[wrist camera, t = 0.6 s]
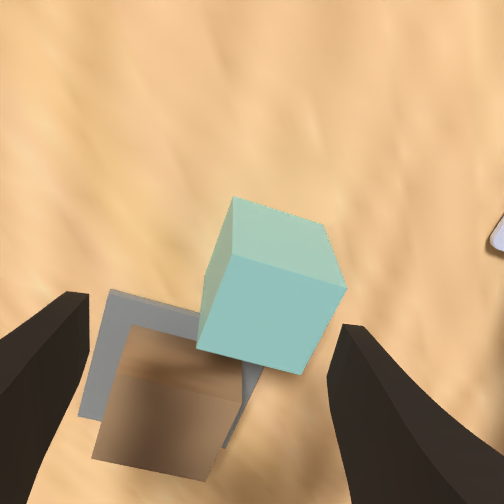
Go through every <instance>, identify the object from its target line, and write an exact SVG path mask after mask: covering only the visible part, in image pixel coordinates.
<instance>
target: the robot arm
mask: <svg viewBox="0 0 504 504" xmlns="http://www.w3.org/2000/svg"><path fill="white" fill-rule="evenodd" d="M490 244H491V245H492V246H493V247H494V248H495V249H497V250H500V251H503V252H504V216H503V218H502V219H501V221H500V222H499V224H498V225H497V227H496V228H495V230H494V231H493V233H492V234H491V236H490ZM89 352H90V343H89V294H85V293H77V292H68V291H66V292H65V293H63V294H62V295H61V296H59V297H58V298H57V299H55V300H54V301H53V302H51V303H50V304H49V305H47V306H46V307H45V308H43V309H42V310H41V311H39V312H38V313H37V314H35V315H34V316H33V317H31V318H30V319H29V320H27V321H26V322H24V323H23V324H22V325H20V326H19V327H17V328H16V329H15V330H13V331H12V332H10V333H9V334H8V335H6V336H5V337H3V338H1V339H0V504H26V503H27V500H28V497H29V495H30V492H31V489H32V486H33V484H34V481H35V478H36V475H37V473H38V470H39V468H40V466H41V463H42V461H43V459H44V456H45V454H46V452H47V450H48V448H49V446H50V444H51V442H52V439H53V437H54V435H55V433H56V431H57V429H58V427H59V425H60V423H61V421H62V419H63V417H64V415H65V412H66V410H67V408H68V406H69V404H70V402H71V400H72V398H73V396H74V394H75V391H76V389H77V387H78V385H79V382H80V379H81V377H82V374H83V371H84V368H85V364H86V361H87V358H88V355H89ZM327 388H328V397H329V406H330V411H331V416H332V420H333V424H334V428H335V433H336V437H337V441H338V445H339V449H340V453H341V457H342V461H343V465H344V469H345V473H346V477H347V481H348V486H349V491H350V496H351V502H352V504H504V456H503V455H502V454H500V453H499V452H497V451H496V450H495V449H493V448H492V447H490V446H489V445H488V444H486V443H485V442H484V441H482V440H481V439H479V438H478V437H477V436H475V435H474V434H473V433H471V432H470V431H469V430H468V429H466V428H465V427H464V426H463V425H461V424H460V423H459V422H458V421H457V420H455V419H454V418H453V417H452V416H451V415H449V414H448V413H447V412H446V411H445V410H444V409H442V408H441V407H440V406H439V405H438V404H437V403H436V402H435V401H434V400H433V399H431V398H430V397H429V396H428V395H427V394H426V393H425V392H424V391H423V390H422V389H421V388H420V387H419V386H418V385H417V384H416V383H415V382H414V381H413V380H412V379H411V378H410V377H409V376H408V375H407V374H406V373H405V372H404V370H403V369H402V368H401V367H400V366H399V365H398V364H397V363H396V362H395V361H394V360H393V358H392V357H391V356H390V355H389V354H388V353H387V352H386V351H385V350H384V348H383V347H382V346H381V345H380V344H379V343H378V342H377V340H376V339H375V338H374V337H373V336H372V335H371V334H370V333H369V332H368V330H367V329H366V328H365V327H364V326H358V325H350V324H343V325H342V328H341V331H340V334H339V338H338V341H337V344H336V347H335V351H334V354H333V357H332V360H331V364H330V367H329V370H328V373H327Z"/></svg>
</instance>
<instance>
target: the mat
mask: <svg viewBox="0 0 504 504" xmlns="http://www.w3.org/2000/svg"><path fill="white" fill-rule="evenodd" d="M199 319H200V313H197V312H194V311H190V310H186V309H183V308H179V307H175V306H172V305H168V304H164V303H161V302H157V301H153V300H150V299H146V298H142V297H138V296H135V295H131V294H127V293H124V292H120V291H116V290H113V289H110V292H109V294H108V298H107V302H106V306H105V310H104V314H103V318H102V322H101V326H100V330H99V334H98V338H97V342H96V346H95V350H94V353H93V357H92V361H91V365H90V369H89V373H88V377H87V381H86V385H85V389H84V393H83V397H82V401H81V405H80V409H79V413H78V417H83V418H88V419H92V420H97V421H101V422H102V419H103V416H104V412H105V409H106V405H107V402H108V398H109V395H110V391H111V388H112V384H113V381H114V377H115V374H116V371H117V368H118V365H119V362H120V359H121V356H122V353H123V350H124V347H125V344H126V341H127V337H128V334H129V331H130V328H131V325H132V324H133V325H137V326H141V327H145V328H148V329H152V330H156V331H160V332H164V333H168V334H171V335H175V336H179V337H183V338H187V339H191V340H195V341H197V335H198V327H199ZM263 368H264V366H263V365H259V364H255V363H251V362H247V361H243V360H242V405H241V407H240V409H239V411H238V413H237V415H236V418H235V420H234V422H233V424H232V426H231V428H230V430H229V432H228V434H227V437H226V439H225V441H224V443H223V445H222V447H221V448H225V447H226V445H227V443H228V441H229V439H230V437H231V435H232V433H233V431H234V429H235V427H236V425H237V422H238V420H239V418H240V416H241V414H242V412H243V410H244V408H245V406H246V404H247V402H248V399H249V397H250V395H251V393H252V391H253V389H254V387H255V385H256V383H257V381H258V379H259V377H260V374H261V372H262V370H263Z"/></svg>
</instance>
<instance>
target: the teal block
mask: <svg viewBox="0 0 504 504" xmlns="http://www.w3.org/2000/svg"><path fill="white" fill-rule="evenodd" d="M346 290H347V286H346V283H345V281H344V278H343V275H342V273H341V270H340V268H339V265H338V262H337V260H336V257H335V254H334V252H333V249H332V247H331V244H330V241H329V239H328V236H327V233H326V231H325V228H324V226H323V225H322V224H319V223H316V222H313V221H310V220H307V219H304V218H301V217H298V216H294V215H291V214H288V213H285V212H282V211H279V210H276V209H273V208H270V207H267V206H263V205H260V204H257V203H254V202H251V201H248V200H245V199H242V198H239V197H236V196H233V198H232V201H231V204H230V207H229V209H228V212H227V215H226V218H225V220H224V223H223V226H222V229H221V232H220V234H219V237H218V240H217V243H216V245H215V248H214V251H213V254H212V257H211V259H210V262H209V265H208V268H207V271H206V273H205V277H204V286H203V294H202V302H201V310H200V319H199V327H198V335H197V344H196V349H200V350H204V351H208V352H212V353H216V354H220V355H224V356H227V357H231V358H235V359H239V360H243V361H247V362H251V363H255V364H259V365H263V366H267V367H270V368H274V369H278V370H282V371H286V372H290V373H294V374H298V375H301V374H302V372H303V370H304V369H305V367H306V365H307V363H308V361H309V359H310V357H311V355H312V354H313V352H314V350H315V348H316V346H317V344H318V342H319V340H320V339H321V337H322V335H323V333H324V331H325V329H326V327H327V325H328V324H329V322H330V320H331V318H332V316H333V314H334V312H335V310H336V309H337V307H338V305H339V303H340V301H341V299H342V297H343V295H344V294H345V292H346Z"/></svg>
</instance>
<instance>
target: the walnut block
mask: <svg viewBox="0 0 504 504" xmlns="http://www.w3.org/2000/svg"><path fill="white" fill-rule="evenodd" d="M196 344H197V341H195V340H191V339H187V338H183V337H179V336H175V335H171V334H168V333H164V332H160V331H156V330H152V329H148V328H145V327H141V326H137V325H133V324H132V325H131V328H130V331H129V334H128V337H127V341H126V344H125V347H124V350H123V353H122V356H121V359H120V362H119V365H118V368H117V371H116V374H115V377H114V381H113V384H112V388H111V391H110V395H109V398H108V402H107V405H106V409H105V412H104V416H103V419H102V422H101V426H100V429H99V433H98V436H97V440H96V443H95V447H94V450H93V454H92V457H91V459H95V460H100V461H105V462H110V463H115V464H120V465H125V466H130V467H135V468H139V469H144V470H149V471H154V472H159V473H164V474H169V475H174V476H179V477H184V478H189V479H194V480H198V481H203V482H205V481H206V479H207V477H208V475H209V472H210V470H211V468H212V466H213V464H214V462H215V460H216V458H217V456H218V453H219V451H220V449H221V447H222V445H223V443H224V441H225V439H226V437H227V434H228V432H229V430H230V428H231V426H232V424H233V422H234V420H235V418H236V415H237V413H238V411H239V409H240V407H241V405H242V360H239V359H235V358H231V357H227V356H224V355H220V354H216V353H212V352H208V351H204V350H200V349H196Z"/></svg>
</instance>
